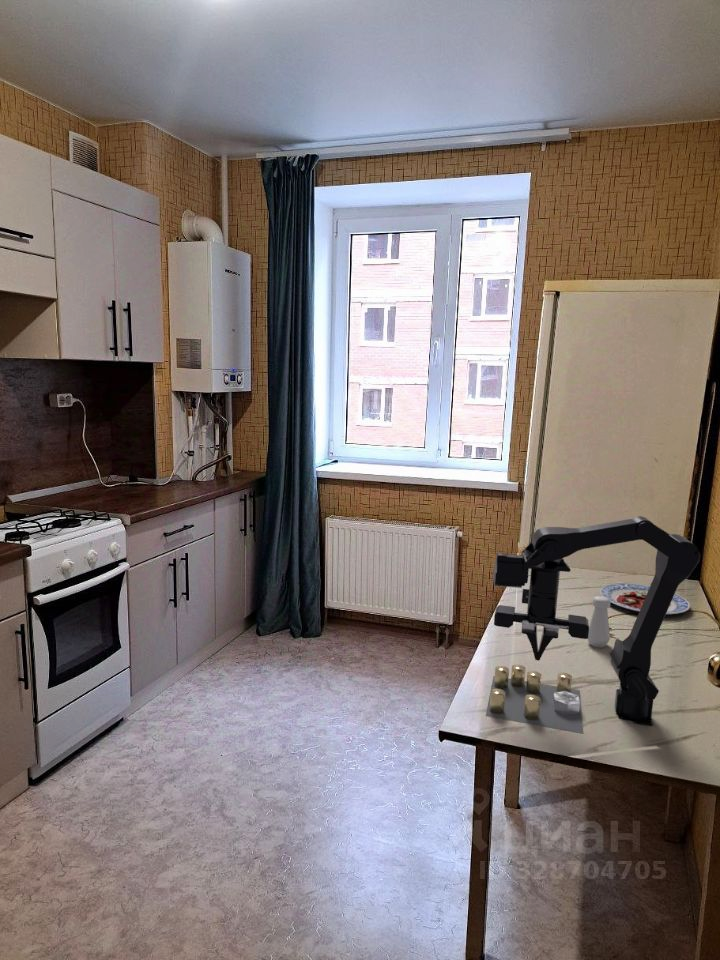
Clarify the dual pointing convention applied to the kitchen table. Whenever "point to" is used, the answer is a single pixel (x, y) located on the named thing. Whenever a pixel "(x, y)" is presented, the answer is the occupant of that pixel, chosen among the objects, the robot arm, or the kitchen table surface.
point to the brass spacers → (518, 681)
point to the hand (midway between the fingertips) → (537, 659)
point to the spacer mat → (546, 713)
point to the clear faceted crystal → (566, 703)
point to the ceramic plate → (639, 597)
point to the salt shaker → (599, 623)
